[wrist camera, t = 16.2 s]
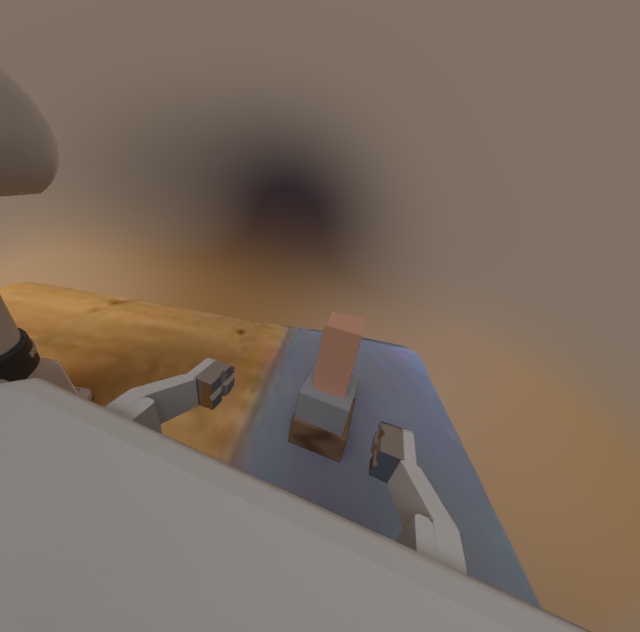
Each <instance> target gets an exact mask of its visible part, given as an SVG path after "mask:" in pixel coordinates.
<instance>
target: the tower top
mask: <svg viewBox="0 0 640 632" xmlns="http://www.w3.org/2000/svg"><path fill="white" fill-rule="evenodd" d="M316 367H317V362H316V364H315V365H314V367H313V369H312V370H311V372H310V374H309V375H308V377H307V379H306V380H305V382H304V384H303V385H302V387H301V389H300V390H299V393H298V399H297V406H296V412H295V418H298V419H300V420H303V421H305V422H307V423H310V424H312V425H314V426H317V427H319V428H322V429H324V430H326V431H329V432H331V433H333V434H336V435H338V436H341V437H342V434H343V431H344V427H345V424H346V421H347V418H348V414H349V411H350V408H351V404H352V401H353V397H354V394H355V390H356V387H357V383H358V380H359V377H358V376H355V375H352V374H351V377H350V380H349V384H348V387H347V391H346V394H345V398H341V397H338V396H335V395H332V394H329V393H326V392H324V391H321V390H318V389H315V388H313V383H314V378H315V373H316Z"/></svg>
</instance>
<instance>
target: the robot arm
mask: <svg viewBox="0 0 640 632" xmlns="http://www.w3.org/2000/svg"><path fill="white" fill-rule="evenodd" d="M58 166H59V152H58V146H57V143H56V139H55V136H54V134H53V132H52V130H51V128H50V125H49V124H48V122H47V120H46V119H45V117H44V115H43V114H42V112H41V111H40V109H39V108H38V106H37V105H36V104H35V102H34V101H33V100H32V99H31V98H30V96H29V95H28V94H27V93H26V92H25V91H24V90H23V89H22V87H21V86H20V85H19V84H18V83H17V82H16V81H15V80H14V79H13V78H12V77H11V76H9V74H7V73H6V72H5V71H4V70H3V69H2V68H1V67H0V196H13V195H25V194H38V193H42V192H43V191H44V190H45V189H47V188H48V186H49V185H50V184H51V183H52V181H53V180H54V178H55V176H56V174H57V171H58ZM233 373H234V367H233V366H230V365H228V364H225V363H223V362H220V361H218V360H215V359H212V358H210V357H209V358H206V359H205V360H204V361H202V362H201V363H200V364H199V365H197V366H196V367H195V368H193V369H192V370H191V371H189V372H188V373H187V374H186V375H184V374H181V375H178V376H174V377H171V378H167V379H164V380H160V381H157V382H153V383H149V384H146V385H142V386H139V387H135V388H132V389H130V390H128V391H127V392H125V393H124V394H122V395H121V396H119V397H118V398H116V399H115V400H113V401H112V402H110V403H109V404H107V405H106V406H104V407H103V406H101V405H99V404H96V403H94V402H92V401H91V399H92V397H93V394H92V392H91V391H90V390H89V389H86V388H81V387H76V386H74V385H73V384H72V382H71V380H70V378H69V377H68V375H67V373H66V372H65V370H64V368H63V367H62V365H61V364H60V363H59V362H58V361H57V360H51V359H47V358H40V357H39V354H38V353H37V351H36V346H35V344H34V342H33V340H32V339H31V338H29V336H28V335H27V333H26V332H25V331H24V330H22V329H20V328H17V326H16V324H15V322H14V320H13V318H12V316H11V314H10V312H9V311H8V309H7V307H6V305H5V303H4V301H3V299H2V297H1V295H0V632H590V631H588V630H587V629H585V628H583V627H581V626H579V625H576V624H574V623H572V622H570V621H568V620H565V619H563V618H561V617H559V616H557V615H555V614H552V613H550V612H548V611H546V610H544V609H542V608H539V607H537V606H535V605H533V604H531V603H529V602H526V601H524V600H522V599H520V598H518V597H515V596H513V595H511V594H509V593H507V592H505V591H502V590H500V589H498V588H496V587H494V586H492V585H489V584H487V583H485V582H483V581H481V580H479V579H476V578H474V577H472V576H470V575H468V573H467V568H466V563H465V558H464V553H463V548H462V543H461V538H460V534H459V530H458V528H457V526H456V525H455V523H454V522H453V520H452V518H451V517H450V515H449V513H448V512H447V510H446V509H445V507H444V505H443V504H442V502H441V500H440V499H439V497H438V496H437V494H436V492H435V491H434V489H433V487H432V486H431V484H430V483H429V481H428V479H427V478H426V476H425V474H424V473H423V471H422V470H421V468H420V467H418V466H417V461H416V451H415V440H414V434H413V432H411V431H408V430H405V429H402V428H400V427H397V426H394V425H391V424H389V423H386V422H383V421H381V422H380V424H379V426H378V431H376V432H375V435H374V438H373V441H372V447H371V453H372V458H371V460H370V467H369V475H370V476H372V477H375V478H377V479H379V480H381V481H384V482H386V483H387V486H388V488H389V491H390V494H391V496H392V499H393V501H394V504H395V507H396V509H397V512H398V514H399V517H400V519H401V522H402V525H403V527H404V530H403V531H402V533H401V534H400V535H399V536H398V538H397V539H396V540H395V541H394V540H392V539H389V538H387V537H385V536H383V535H381V534H379V533H376V532H374V531H372V530H370V529H368V528H366V527H363V526H361V525H359V524H357V523H355V522H353V521H350V520H348V519H346V518H344V517H342V516H340V515H337V514H335V513H333V512H331V511H329V510H326V509H324V508H322V507H320V506H318V505H316V504H313V503H311V502H309V501H307V500H305V499H303V498H300V497H298V496H296V495H294V494H292V493H290V492H287V491H285V490H283V489H281V488H279V487H277V486H274V485H272V484H270V483H268V482H266V481H264V480H261V479H259V478H257V477H255V476H253V475H251V474H248V473H246V472H244V471H242V470H240V469H237V468H235V467H233V466H231V465H229V464H227V463H224V462H222V461H220V460H218V459H216V458H214V457H211V456H209V455H207V454H205V453H203V452H201V451H198V450H196V449H194V448H192V447H190V446H188V445H185V444H183V443H181V442H179V441H177V440H174V439H172V438H170V437H168V436H166V435H164V434H162V430H161V426H160V424H162V423H164V422H166V421H168V420H170V419H172V418H174V417H176V416H178V415H180V414H182V413H185V412H187V411H189V410H191V409H193V408H195V407H197V406H199V405H201V406H204V407H206V408H209V409H212V410H213V409H214V408H215V407H216V406H217V405H218V404H219V403H220V402H221V401H222V396H225V395H227V394H228V393H229V392H230V391H231V389H232V387H233V385H234V377H233V375H232V374H233Z"/></svg>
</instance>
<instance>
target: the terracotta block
mask: <svg viewBox="0 0 640 632" xmlns="http://www.w3.org/2000/svg"><path fill="white" fill-rule="evenodd" d="M365 324H366V319H363V318H359V317H355V316H352V315H348V314H344V313H341V312H337V311H333V312H332V314H331V316H330V317H329V319H328V320H327V322H326V324H325V326H324V331H323V336H322V341H321V347H320V352H319V357H318V362H317V367H316V373H315V378H314V383H313V388H315V389H318V390H321V391H324V392H326V393H329V394H332V395H335V396H338V397H341V398H345V394H346V391H347V387H348V384H349V380H350V377H351V373H352V370H353V366H354V363H355V360H356V356H357V353H358V349H359V346H360V342H361V339H362V335H363V331H364V328H365Z"/></svg>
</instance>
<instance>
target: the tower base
mask: <svg viewBox="0 0 640 632" xmlns="http://www.w3.org/2000/svg"><path fill="white" fill-rule="evenodd" d="M354 403H355V398H353V401H352V404H351V408H350V411H349V414H348V418H347V421H346V424H345V427H344V431H343V434H342V437H341V436H338V435H336V434H333V433H331V432H329V431H326V430H324V429H322V428H319V427H317V426H314V425H312V424H310V423H307V422H305V421H303V420H300V419H298V418H295V413H294V415H293V417H292V419H291V425H290V432H289V439H288V442H291V443H293V444H295V445H298V446H300V447H303V448H305V449H308V450H310V451H313V452H315V453H318V454H320V455H322V456H325V457H327V458H330V459H332V460H335V461H337V462H340V459H341V456H342V453H343V449H344V446H345V443H346V440H347V435H348V431H349V426H350V421H351V417H352V412H353V407H354Z"/></svg>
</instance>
